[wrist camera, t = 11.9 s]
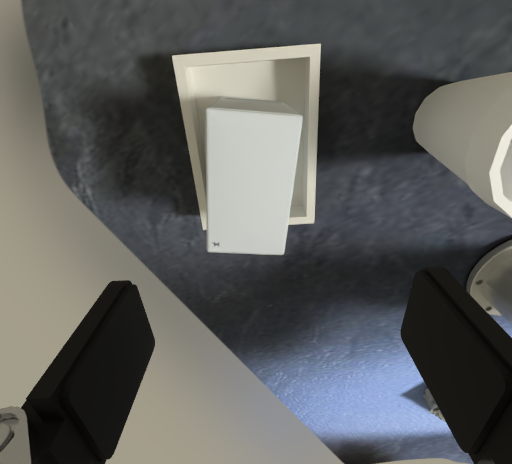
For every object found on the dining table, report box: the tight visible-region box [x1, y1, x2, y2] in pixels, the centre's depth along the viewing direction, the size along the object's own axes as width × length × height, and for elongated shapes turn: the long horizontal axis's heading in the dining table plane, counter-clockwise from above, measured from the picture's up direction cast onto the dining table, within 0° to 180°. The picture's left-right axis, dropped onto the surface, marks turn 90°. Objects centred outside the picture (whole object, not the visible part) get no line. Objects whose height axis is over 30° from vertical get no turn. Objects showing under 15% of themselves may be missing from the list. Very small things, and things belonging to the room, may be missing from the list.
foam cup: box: [413, 72, 512, 218], centre depth 22 cm, size 10×9×13 cm
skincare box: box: [204, 96, 303, 255], centre depth 24 cm, size 10×6×10 cm, turn 176°
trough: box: [172, 44, 321, 230], centre depth 27 cm, size 12×16×4 cm
